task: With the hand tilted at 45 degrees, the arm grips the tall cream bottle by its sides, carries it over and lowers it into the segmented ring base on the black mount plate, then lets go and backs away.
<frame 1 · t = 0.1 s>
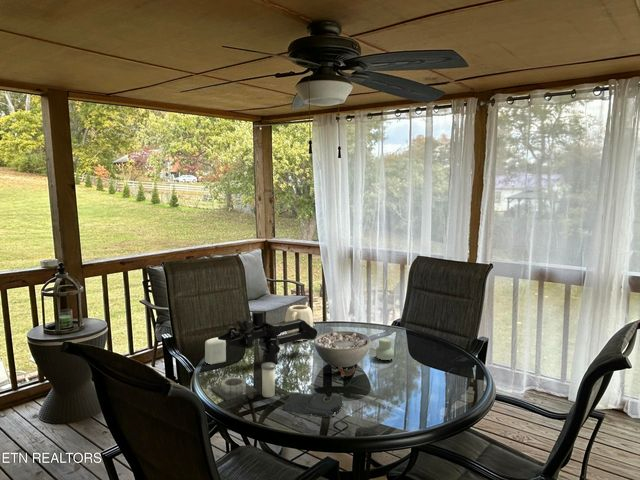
hand: (222, 340, 198), 17 cm above the table, tool horizontal, fingers open, 9 cm apart
air freshener: (384, 359, 223), on the table
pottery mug: (342, 374, 203), on the table
cream bottle: (268, 394, 181), on the table
cast iron trivet: (313, 407, 172), on the table
photo printer: (215, 363, 217), on the table
watering can: (300, 339, 255), on the table
segmented ring base: (233, 390, 185), on the table
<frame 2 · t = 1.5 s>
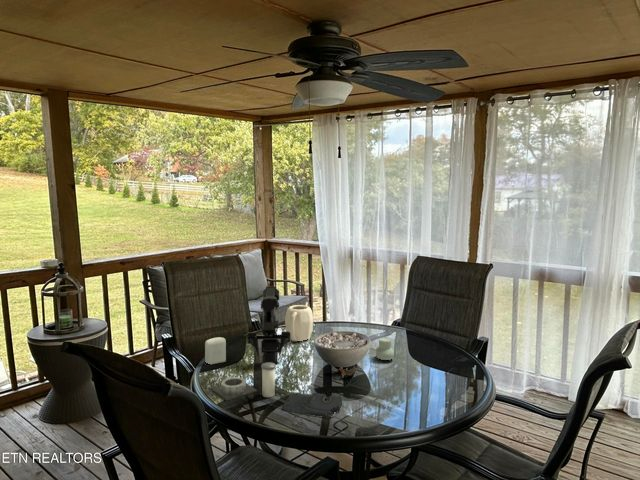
hand: (268, 355, 188), 13 cm above the table, tool tilted 45°, fingers open, 9 cm apart
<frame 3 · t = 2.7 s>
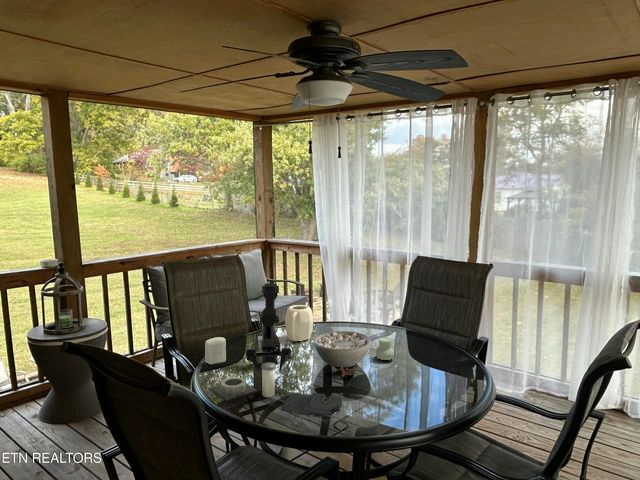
hand: (268, 373, 181), 9 cm above the table, tool tilted 45°, fingers open, 9 cm apart
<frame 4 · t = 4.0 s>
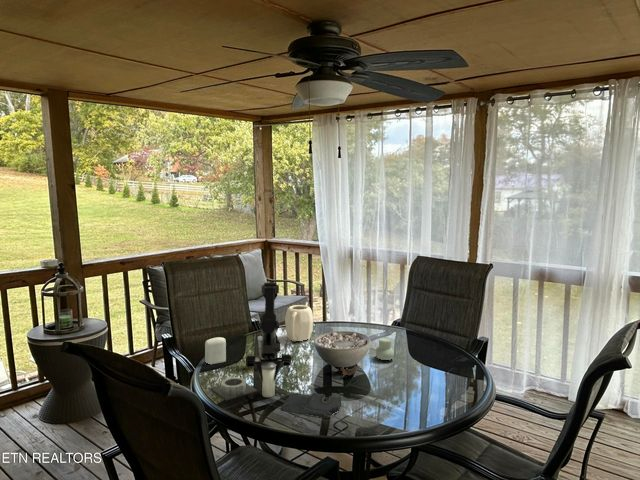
hand: (268, 380, 179), 7 cm above the table, tool tilted 45°, fingers closed on cream bottle, 5 cm apart
cream bottle: (268, 394, 181), on the table, touching gripper
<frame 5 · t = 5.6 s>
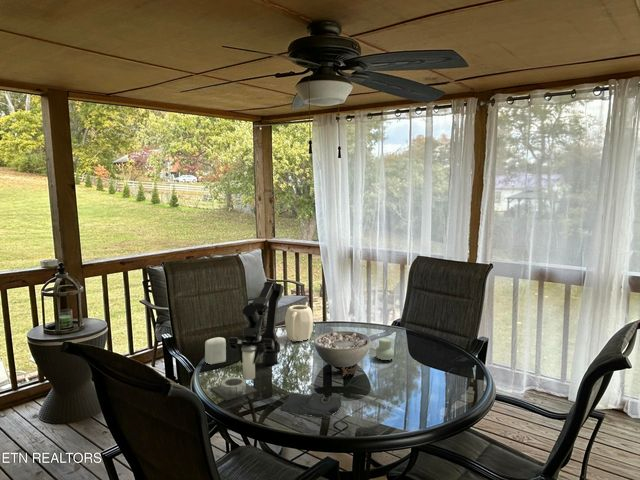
hand: (247, 362, 180), 13 cm above the table, tool tilted 45°, fingers closed on cream bottle, 5 cm apart
cream bottle: (248, 377, 182), point 7 cm above the table, touching gripper
when the fingers open (8 cm above the table, at t = 7.3 s): cream bottle drops 1 cm, resting on segmented ring base.
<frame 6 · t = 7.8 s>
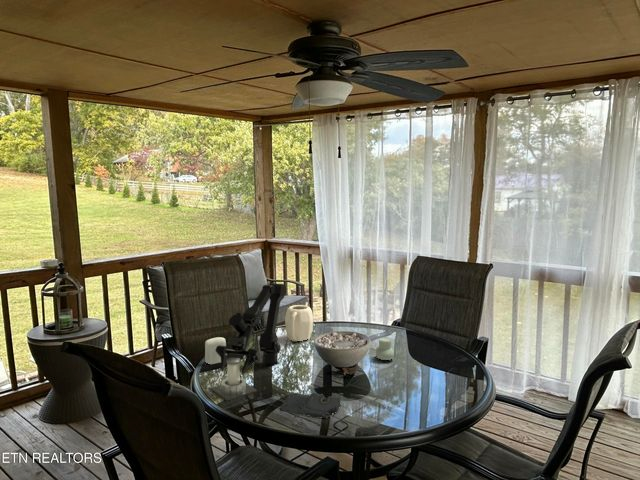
hand: (232, 371, 183), 9 cm above the table, tool tilted 45°, fingers open, 9 cm apart
cream bottle: (233, 389, 185), point 1 cm above the table, touching segmented ring base
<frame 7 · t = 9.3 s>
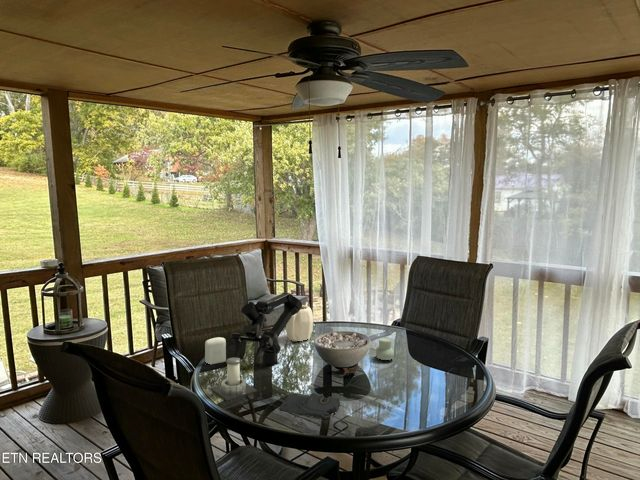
hand: (246, 357, 194), 11 cm above the table, tool tilted 45°, fingers open, 9 cm apart
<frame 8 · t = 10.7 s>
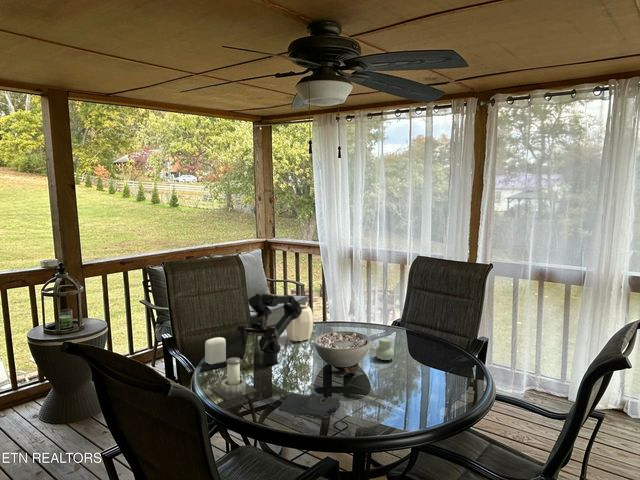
hand: (252, 348, 197), 14 cm above the table, tool tilted 45°, fingers open, 9 cm apart
at the end: cream bottle 0.0 cm off-centre on the segmented ring base, point 0.6 cm above the segmented ring base's base; cream bottle tilted 0°; the gripper is holding nothing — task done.
